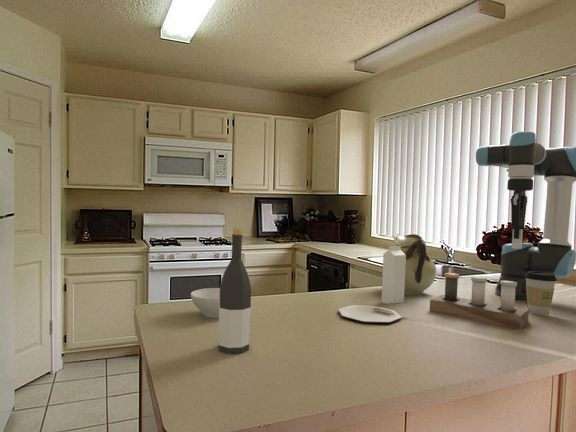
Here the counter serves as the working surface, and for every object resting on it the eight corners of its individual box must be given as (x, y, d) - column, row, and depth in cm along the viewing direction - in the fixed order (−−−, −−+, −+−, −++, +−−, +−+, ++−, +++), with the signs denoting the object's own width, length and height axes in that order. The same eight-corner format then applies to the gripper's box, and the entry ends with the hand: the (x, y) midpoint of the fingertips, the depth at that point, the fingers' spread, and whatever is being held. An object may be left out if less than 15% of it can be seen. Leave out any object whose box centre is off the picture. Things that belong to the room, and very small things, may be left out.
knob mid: (472, 301, 140) (473, 276, 140) (487, 304, 137) (488, 278, 137) (468, 304, 137) (469, 277, 136) (483, 306, 134) (484, 279, 133)
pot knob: (446, 297, 146) (447, 272, 146) (459, 299, 143) (461, 274, 143) (441, 299, 143) (442, 273, 142) (455, 301, 139) (456, 275, 139)
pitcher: (399, 284, 192) (402, 232, 191) (447, 294, 175) (450, 237, 174) (371, 291, 177) (374, 234, 176) (421, 302, 160) (424, 239, 159)
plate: (410, 318, 136) (410, 313, 136) (379, 330, 122) (380, 325, 122) (360, 306, 150) (360, 302, 150) (327, 316, 135) (327, 311, 135)
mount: (442, 307, 151) (442, 294, 151) (527, 324, 132) (528, 309, 132) (429, 313, 142) (430, 299, 142) (519, 332, 123) (520, 316, 123)
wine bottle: (244, 356, 97) (248, 230, 96) (212, 352, 98) (216, 228, 97) (253, 344, 105) (257, 228, 104) (223, 341, 106) (227, 227, 105)
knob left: (501, 306, 134) (502, 279, 134) (517, 309, 131) (518, 282, 131) (497, 309, 131) (498, 281, 131) (513, 312, 128) (515, 284, 127)
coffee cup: (559, 319, 140) (562, 276, 140) (528, 317, 142) (530, 274, 142) (547, 312, 150) (549, 272, 149) (518, 310, 152) (520, 270, 151)
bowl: (249, 312, 135) (250, 291, 135) (222, 324, 120) (222, 301, 120) (209, 306, 142) (210, 286, 141) (179, 316, 127) (180, 294, 127)
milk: (403, 304, 154) (406, 246, 153) (392, 306, 151) (395, 247, 150) (392, 300, 159) (395, 245, 159) (380, 302, 156) (383, 245, 156)
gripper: (512, 180, 144) (509, 246, 145) (503, 177, 134) (499, 248, 135) (537, 179, 139) (533, 248, 140) (529, 176, 129) (525, 250, 130)
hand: (516, 248), depth 137 cm, fingers closed
